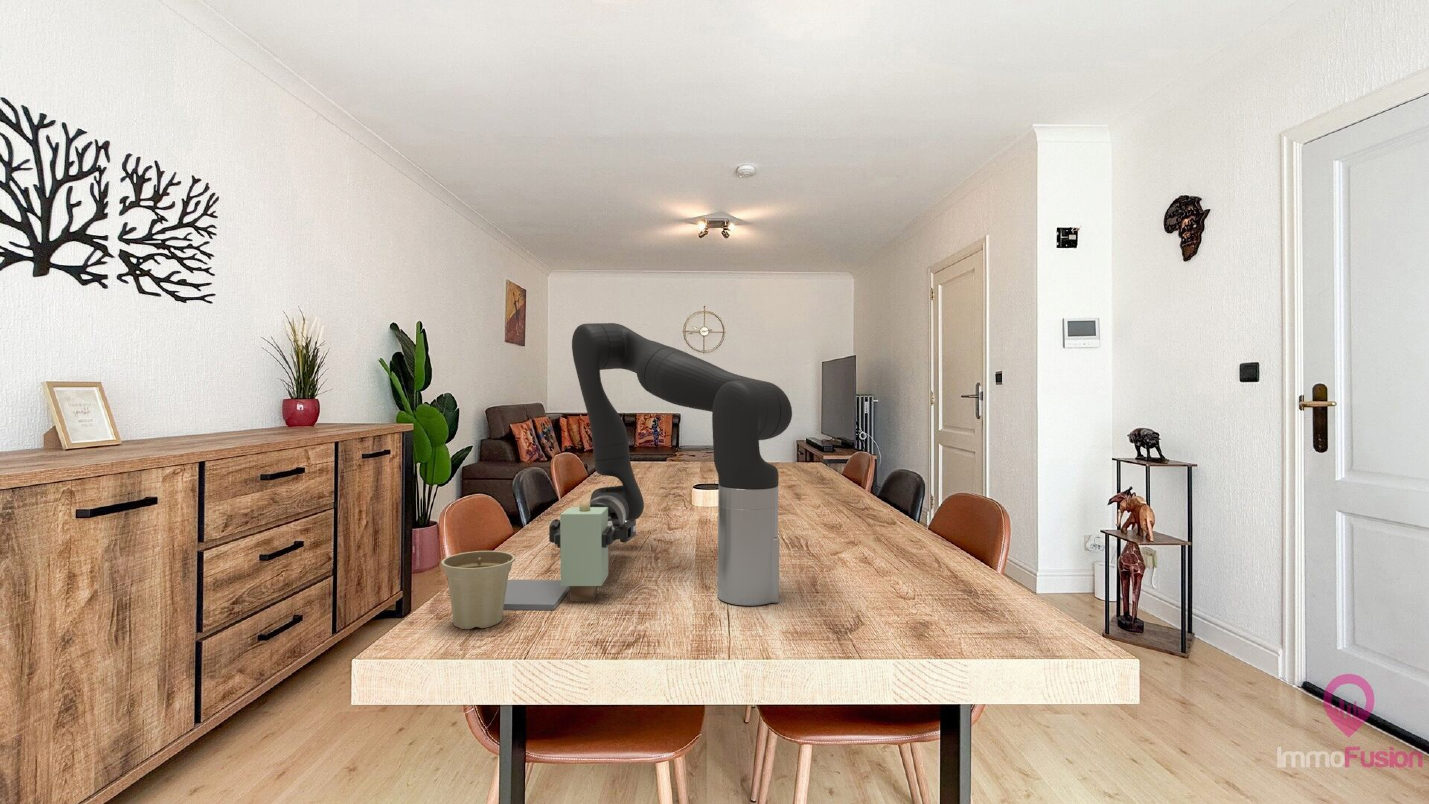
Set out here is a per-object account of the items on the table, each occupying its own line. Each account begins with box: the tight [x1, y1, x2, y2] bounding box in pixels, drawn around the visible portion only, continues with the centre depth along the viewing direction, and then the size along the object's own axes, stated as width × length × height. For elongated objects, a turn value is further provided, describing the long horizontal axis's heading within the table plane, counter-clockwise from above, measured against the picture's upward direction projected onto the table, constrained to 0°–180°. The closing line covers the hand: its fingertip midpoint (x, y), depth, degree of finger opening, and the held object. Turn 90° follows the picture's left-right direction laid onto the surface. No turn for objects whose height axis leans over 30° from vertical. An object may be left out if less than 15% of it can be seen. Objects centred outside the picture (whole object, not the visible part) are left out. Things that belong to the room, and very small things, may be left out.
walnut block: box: [569, 586, 598, 602], centre depth 99 cm, size 3×3×2 cm
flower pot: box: [440, 550, 516, 630], centre depth 88 cm, size 9×9×9 cm
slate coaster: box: [503, 579, 570, 611], centre depth 99 cm, size 12×12×1 cm
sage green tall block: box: [559, 501, 609, 587], centre depth 99 cm, size 6×6×12 cm
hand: (581, 540), depth 97 cm, fingers closed on sage green tall block, 6 cm apart
